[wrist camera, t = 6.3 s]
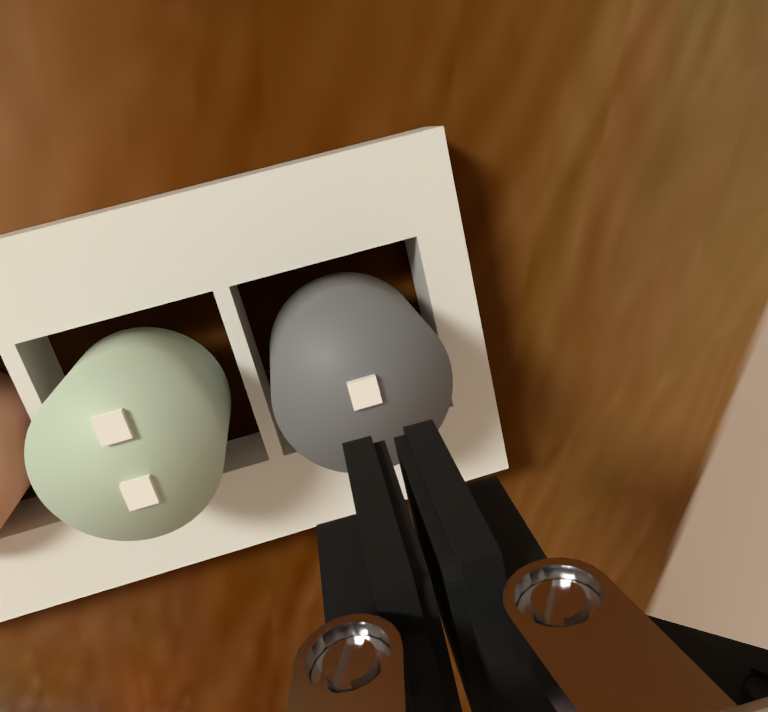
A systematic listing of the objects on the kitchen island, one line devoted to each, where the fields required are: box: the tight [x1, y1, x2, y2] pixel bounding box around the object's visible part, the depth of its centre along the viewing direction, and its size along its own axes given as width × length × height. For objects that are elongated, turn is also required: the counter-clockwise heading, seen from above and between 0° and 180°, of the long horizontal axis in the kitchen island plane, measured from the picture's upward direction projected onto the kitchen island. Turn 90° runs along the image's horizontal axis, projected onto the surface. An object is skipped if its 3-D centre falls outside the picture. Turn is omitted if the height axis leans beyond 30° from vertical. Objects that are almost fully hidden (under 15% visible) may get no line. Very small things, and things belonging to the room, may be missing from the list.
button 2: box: [24, 327, 231, 541], centre depth 19 cm, size 5×5×4 cm
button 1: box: [270, 272, 453, 473], centre depth 20 cm, size 5×5×4 cm
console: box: [0, 126, 509, 622], centre depth 22 cm, size 22×12×2 cm, turn 103°
